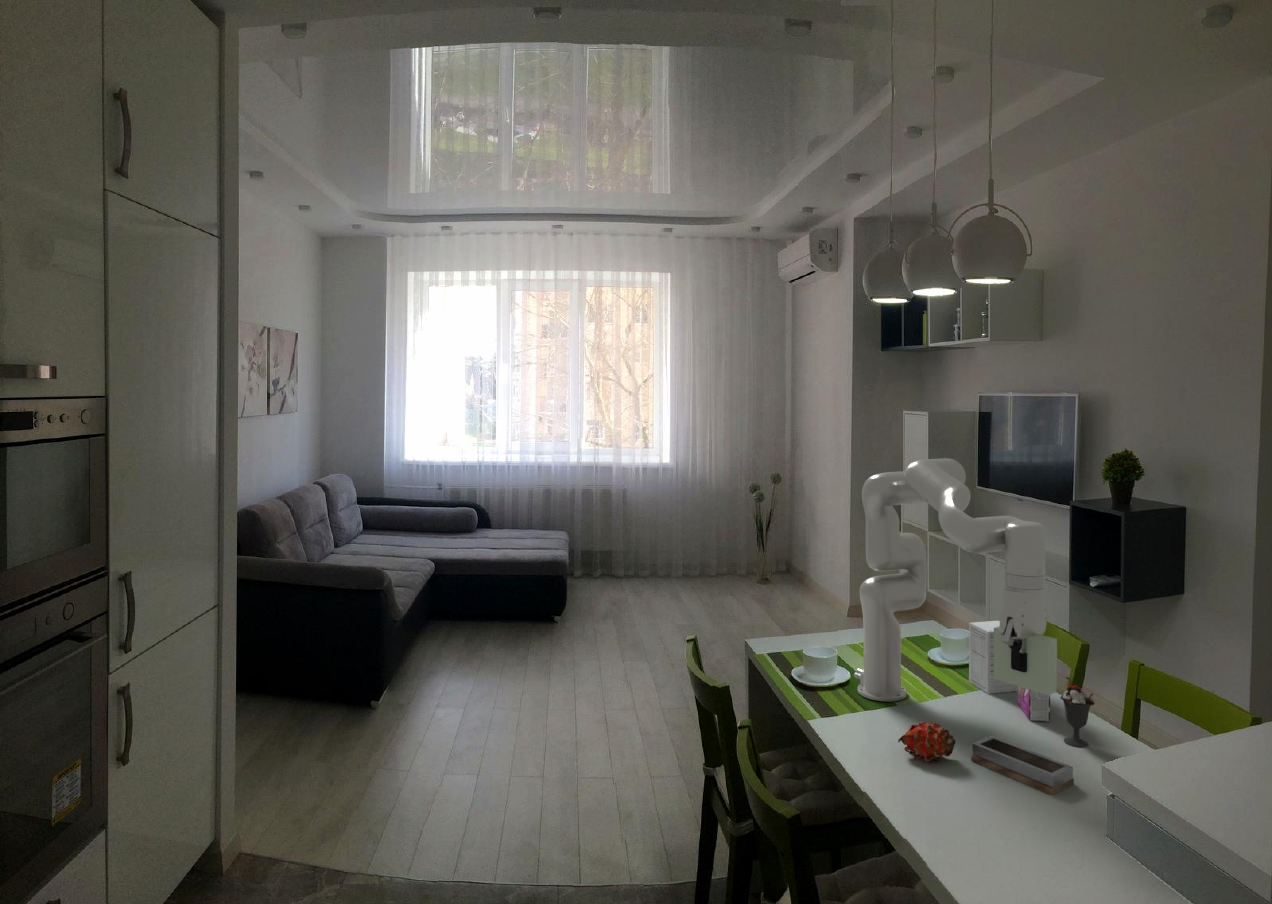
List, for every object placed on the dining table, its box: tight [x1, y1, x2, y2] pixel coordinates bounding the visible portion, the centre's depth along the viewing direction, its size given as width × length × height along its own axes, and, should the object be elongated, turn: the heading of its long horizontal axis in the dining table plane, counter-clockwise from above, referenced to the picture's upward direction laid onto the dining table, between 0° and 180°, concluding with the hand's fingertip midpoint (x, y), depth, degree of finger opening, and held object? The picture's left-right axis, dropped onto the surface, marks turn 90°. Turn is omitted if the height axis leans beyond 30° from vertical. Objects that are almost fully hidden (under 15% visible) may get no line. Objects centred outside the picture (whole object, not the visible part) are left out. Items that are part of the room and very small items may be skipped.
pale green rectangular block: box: [994, 627, 1058, 696], centre depth 167 cm, size 12×3×11 cm, turn 33°
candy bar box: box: [1017, 686, 1051, 723], centre depth 198 cm, size 11×5×16 cm, turn 168°
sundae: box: [1059, 676, 1095, 748], centre depth 181 cm, size 7×7×15 cm
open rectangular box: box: [970, 735, 1075, 796], centre depth 169 cm, size 18×8×4 cm, turn 33°
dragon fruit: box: [897, 721, 957, 762], centre depth 176 cm, size 8×8×12 cm
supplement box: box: [968, 620, 1018, 695], centre depth 216 cm, size 10×9×17 cm
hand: (1024, 667), depth 167 cm, fingers closed on pale green rectangular block, 3 cm apart
